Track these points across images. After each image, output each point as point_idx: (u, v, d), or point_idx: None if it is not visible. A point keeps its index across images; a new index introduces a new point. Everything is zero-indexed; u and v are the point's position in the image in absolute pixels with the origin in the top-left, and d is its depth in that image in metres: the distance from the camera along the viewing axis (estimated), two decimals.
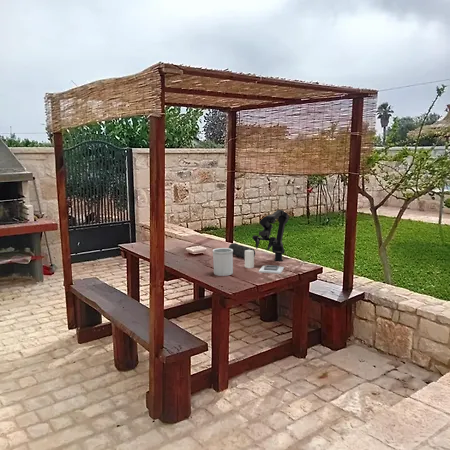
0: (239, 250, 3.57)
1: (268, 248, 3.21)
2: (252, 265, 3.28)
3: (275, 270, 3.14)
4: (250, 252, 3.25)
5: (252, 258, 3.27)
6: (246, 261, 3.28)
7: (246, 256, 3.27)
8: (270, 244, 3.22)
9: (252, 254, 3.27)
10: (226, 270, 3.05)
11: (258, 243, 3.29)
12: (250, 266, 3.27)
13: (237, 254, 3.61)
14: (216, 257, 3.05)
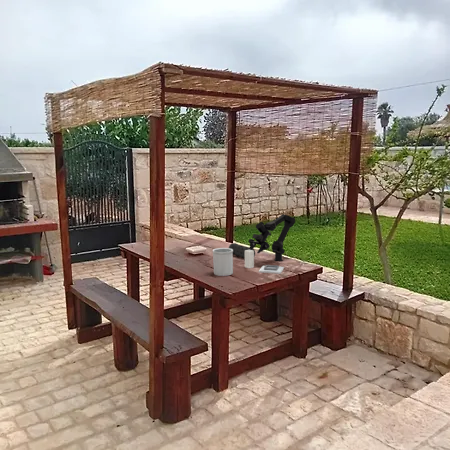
0: (239, 250, 3.57)
1: (258, 251, 3.27)
2: (252, 265, 3.28)
3: (275, 270, 3.14)
4: (250, 252, 3.25)
5: (252, 258, 3.27)
6: (246, 261, 3.28)
7: (246, 256, 3.27)
8: (261, 248, 3.28)
9: (252, 254, 3.27)
10: (226, 270, 3.05)
11: (252, 247, 3.37)
12: (250, 266, 3.27)
13: (237, 254, 3.61)
14: (216, 257, 3.05)
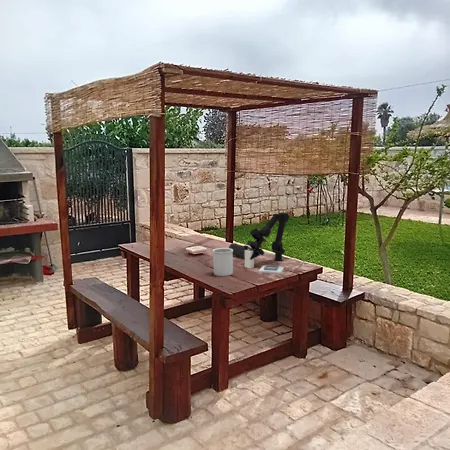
0: (239, 250, 3.57)
1: (251, 258, 3.25)
2: (252, 265, 3.28)
3: (275, 270, 3.14)
4: (250, 252, 3.25)
5: None
6: (246, 261, 3.28)
7: (246, 256, 3.27)
8: (254, 254, 3.26)
9: None
10: (226, 270, 3.05)
11: None
12: (250, 266, 3.27)
13: (237, 254, 3.61)
14: (216, 257, 3.05)
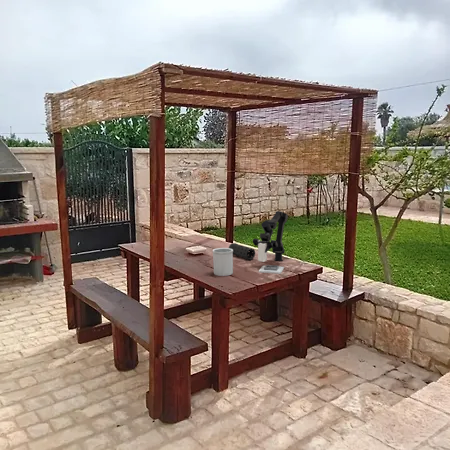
0: (239, 250, 3.57)
1: (266, 250, 3.18)
2: (266, 258, 3.21)
3: (275, 270, 3.14)
4: (265, 245, 3.17)
5: None
6: (260, 254, 3.18)
7: (260, 249, 3.18)
8: (268, 247, 3.20)
9: None
10: (226, 270, 3.05)
11: None
12: (264, 259, 3.19)
13: (237, 254, 3.61)
14: (216, 257, 3.05)
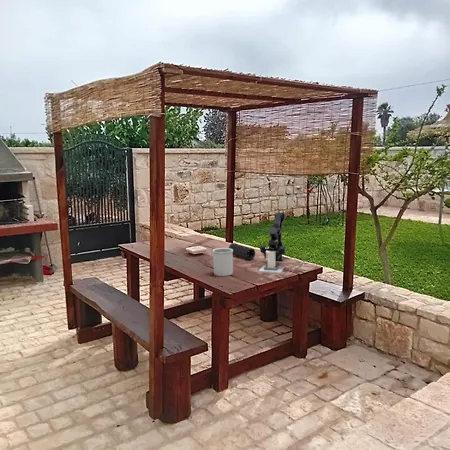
0: (239, 250, 3.57)
1: (278, 257, 3.16)
2: None
3: (275, 270, 3.14)
4: (274, 253, 3.16)
5: (275, 259, 3.19)
6: (270, 263, 3.16)
7: (270, 257, 3.16)
8: (279, 254, 3.18)
9: (275, 255, 3.18)
10: (226, 270, 3.05)
11: (265, 254, 3.22)
12: (274, 267, 3.17)
13: (237, 254, 3.61)
14: (216, 257, 3.05)
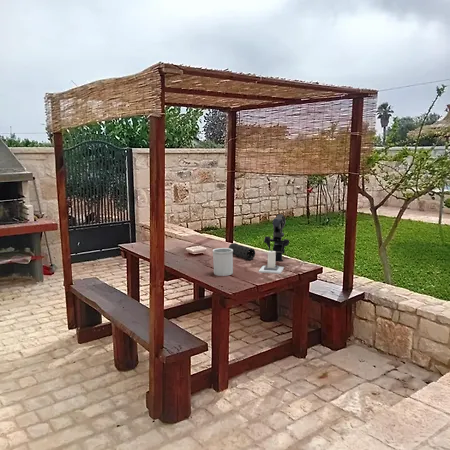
0: (239, 250, 3.57)
1: (282, 250, 3.27)
2: None
3: (275, 270, 3.14)
4: (274, 253, 3.16)
5: (275, 259, 3.19)
6: (270, 263, 3.16)
7: (270, 257, 3.16)
8: (283, 246, 3.29)
9: (275, 255, 3.18)
10: (226, 270, 3.05)
11: (269, 244, 3.30)
12: (274, 267, 3.17)
13: (237, 254, 3.61)
14: (216, 257, 3.05)
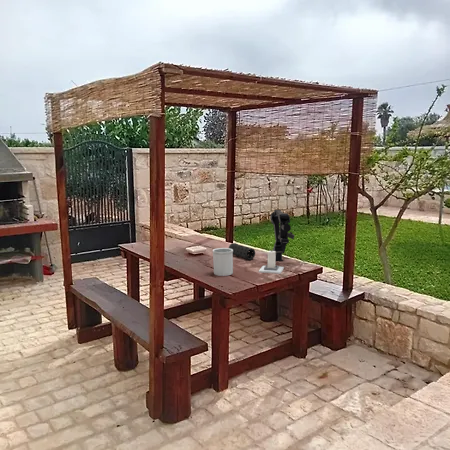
0: (239, 250, 3.57)
1: None
2: None
3: (275, 270, 3.14)
4: (274, 253, 3.16)
5: (275, 259, 3.19)
6: (270, 263, 3.16)
7: (270, 257, 3.16)
8: None
9: (275, 255, 3.18)
10: (226, 270, 3.05)
11: None
12: (274, 267, 3.17)
13: (237, 254, 3.61)
14: (216, 257, 3.05)
